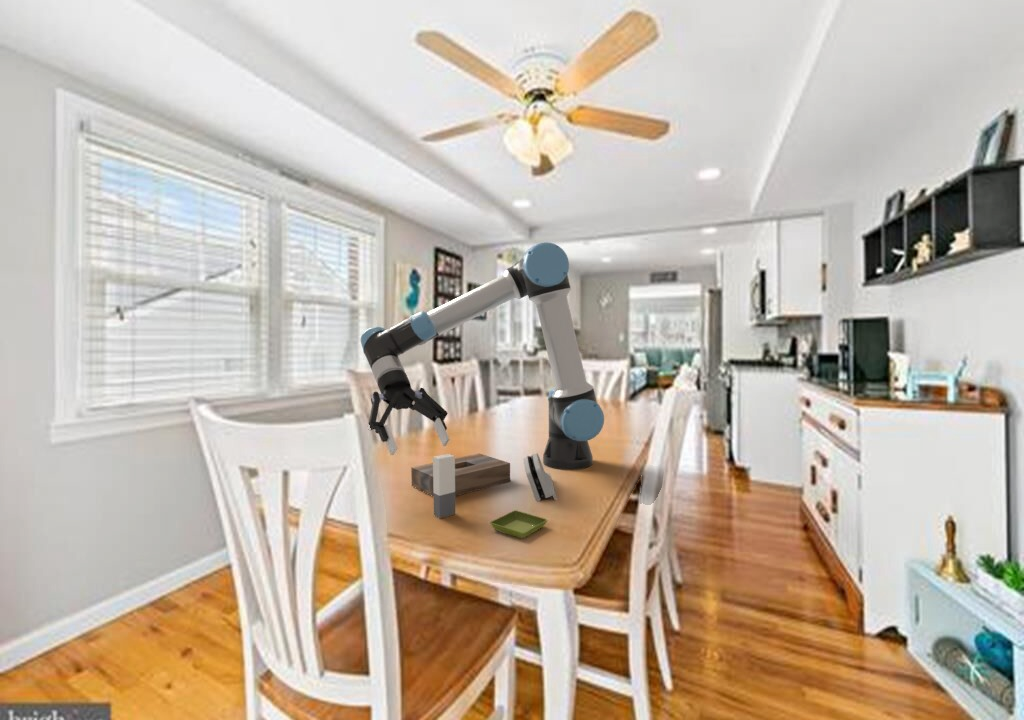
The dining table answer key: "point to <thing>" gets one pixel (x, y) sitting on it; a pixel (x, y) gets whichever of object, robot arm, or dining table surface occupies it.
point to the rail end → (444, 485)
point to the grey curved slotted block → (538, 478)
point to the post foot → (465, 474)
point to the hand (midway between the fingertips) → (421, 447)
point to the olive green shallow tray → (518, 524)
